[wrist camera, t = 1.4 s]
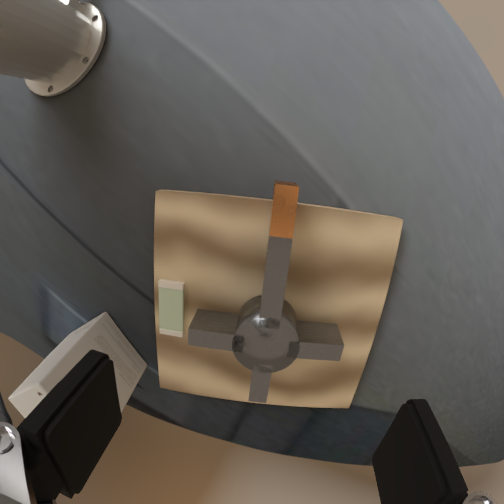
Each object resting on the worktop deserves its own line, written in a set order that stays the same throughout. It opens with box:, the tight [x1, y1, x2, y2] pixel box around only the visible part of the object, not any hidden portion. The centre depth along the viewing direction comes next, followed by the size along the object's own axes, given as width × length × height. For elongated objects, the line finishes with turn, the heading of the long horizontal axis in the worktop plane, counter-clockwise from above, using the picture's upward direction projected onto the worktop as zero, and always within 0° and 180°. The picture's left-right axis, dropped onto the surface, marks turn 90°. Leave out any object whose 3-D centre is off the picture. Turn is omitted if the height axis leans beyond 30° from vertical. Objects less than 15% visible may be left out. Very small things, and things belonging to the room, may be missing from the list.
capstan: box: [188, 181, 344, 403], centre depth 28 cm, size 21×14×5 cm, turn 174°
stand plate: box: [154, 190, 403, 408], centre depth 32 cm, size 24×24×2 cm
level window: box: [158, 279, 184, 337], centre depth 32 cm, size 6×3×1 cm, turn 174°
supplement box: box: [8, 312, 147, 418], centre depth 29 cm, size 9×9×15 cm
